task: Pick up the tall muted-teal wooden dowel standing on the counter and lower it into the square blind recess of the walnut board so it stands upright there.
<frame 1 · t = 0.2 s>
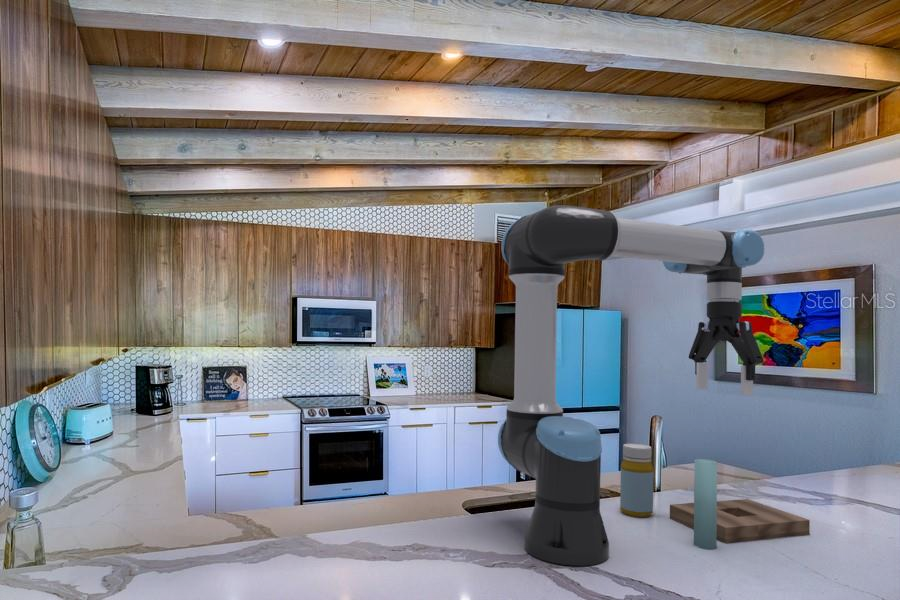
hand: (723, 392, 137), 28 cm above the countertop, fingers open, 13 cm apart
bore block: (737, 526, 126), on the countertop
bottle: (636, 514, 133), on the countertop
pin: (705, 545, 113), on the countertop
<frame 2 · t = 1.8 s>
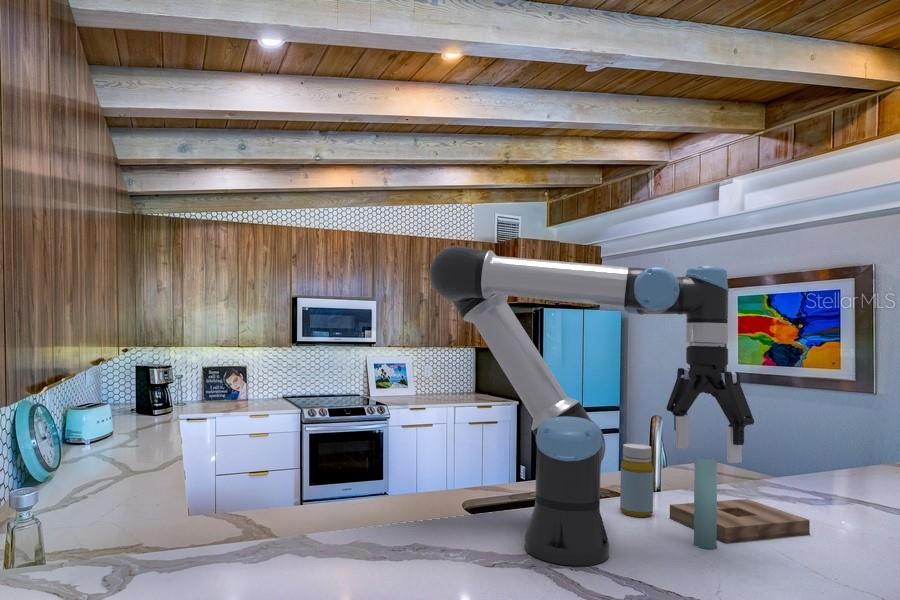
hand: (706, 455, 114), 17 cm above the countertop, fingers open, 13 cm apart
nothing on the countertop moved.
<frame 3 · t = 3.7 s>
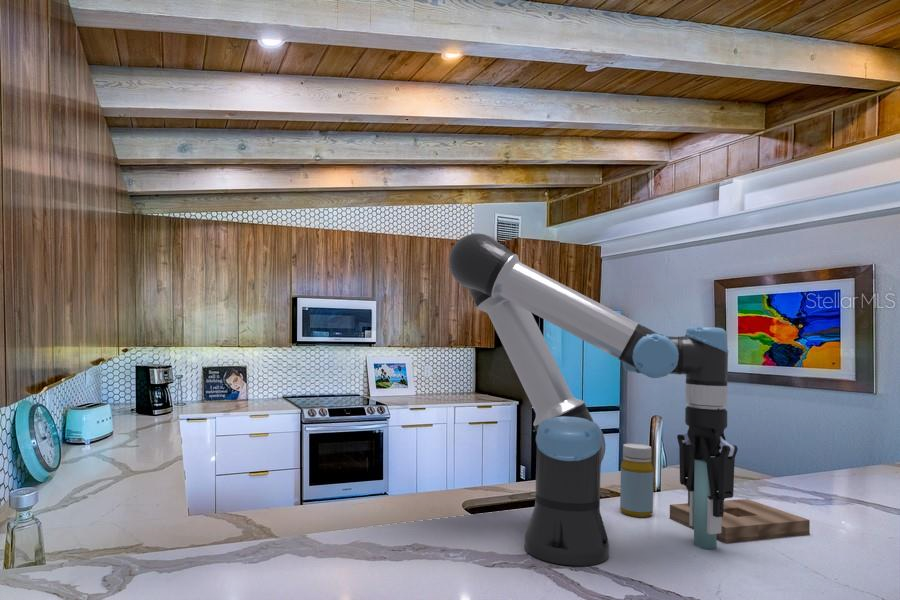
hand: (705, 528, 113), 3 cm above the countertop, fingers closed on pin, 4 cm apart
pin: (704, 545, 113), on the countertop, touching gripper
everything else where it was.
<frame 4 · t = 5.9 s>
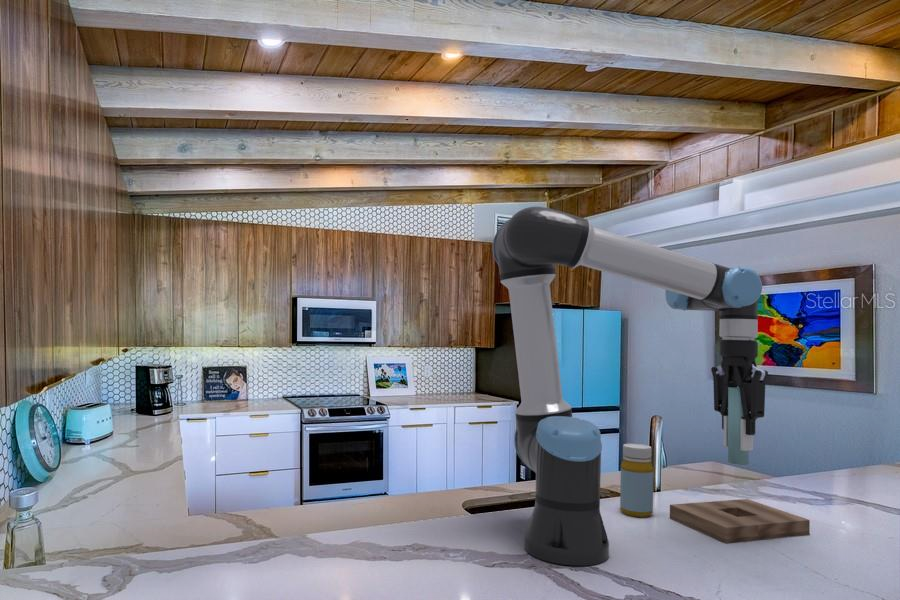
hand: (738, 447, 126), 17 cm above the countertop, fingers closed on pin, 4 cm apart
pin: (738, 462, 126), point 13 cm above the countertop, touching gripper
everything else where it was.
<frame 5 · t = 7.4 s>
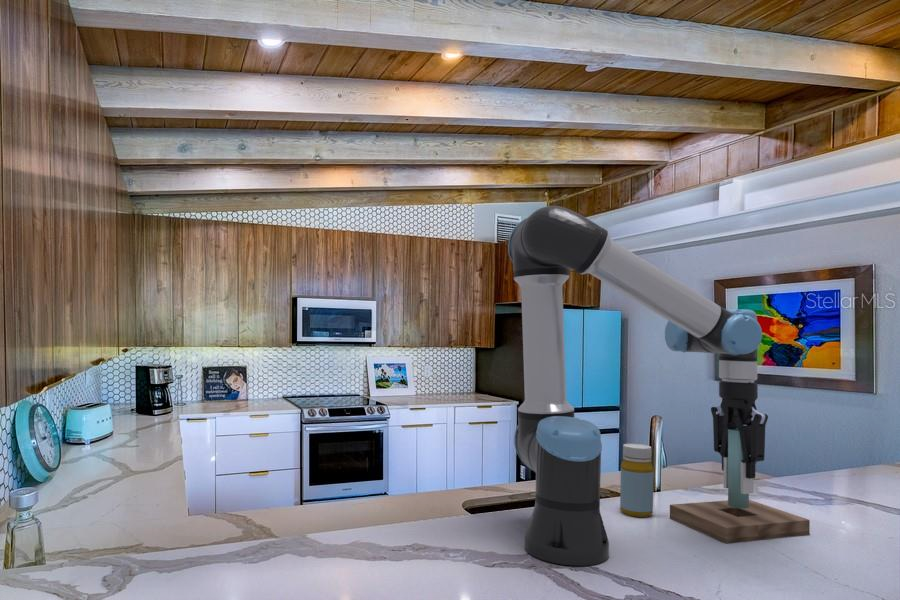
hand: (738, 490, 126), 8 cm above the countertop, fingers closed on pin, 4 cm apart
pin: (738, 505, 126), point 4 cm above the countertop, touching gripper
everything else where it was.
when the fingers open (5 cm above the countertop, at t = 8.2 s): pin stays where it is, resting on bore block.
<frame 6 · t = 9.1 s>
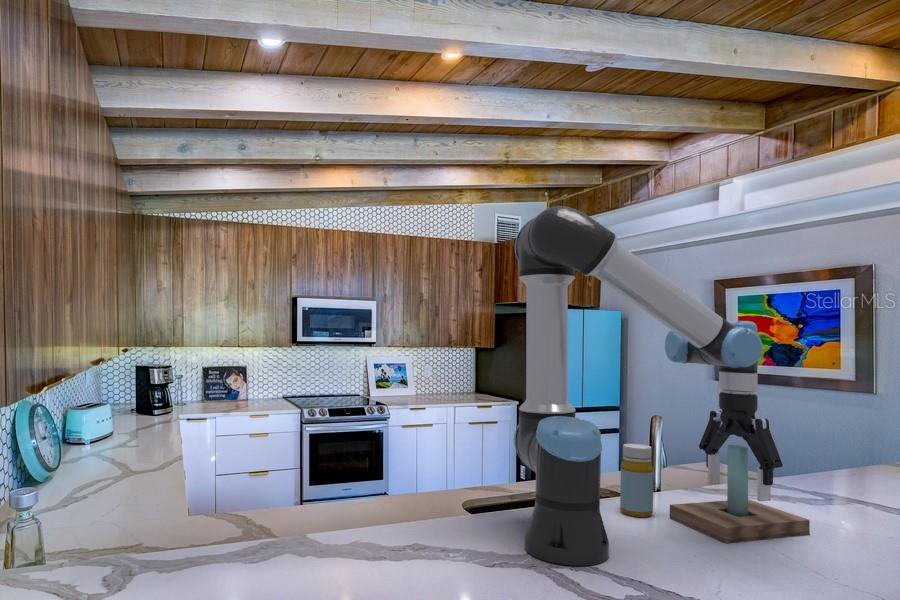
hand: (737, 492, 126), 7 cm above the countertop, fingers open, 13 cm apart
pin: (737, 522, 126), point 1 cm above the countertop, touching bore block
everything else where it was.
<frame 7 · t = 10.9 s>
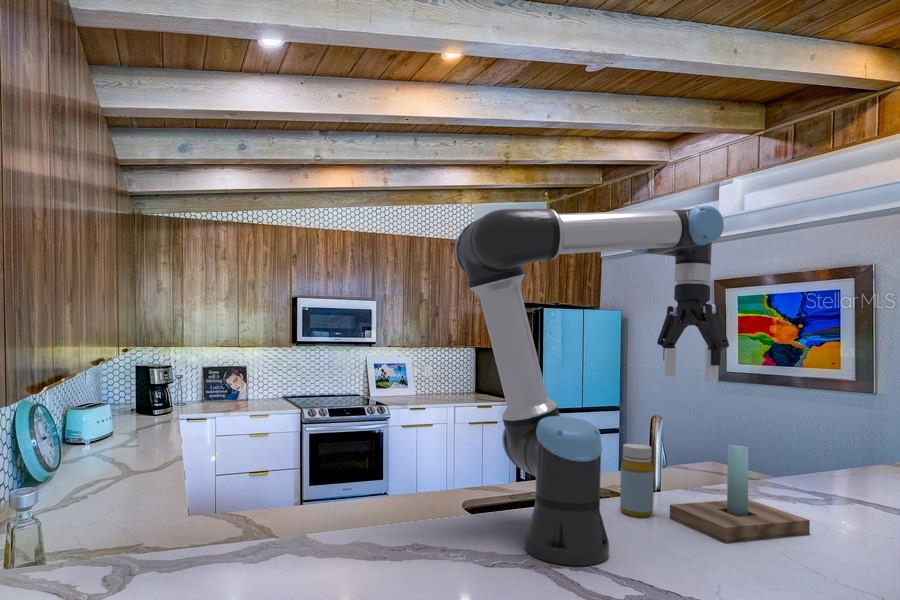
hand: (689, 378, 131), 31 cm above the countertop, fingers open, 13 cm apart
nothing on the countertop moved.
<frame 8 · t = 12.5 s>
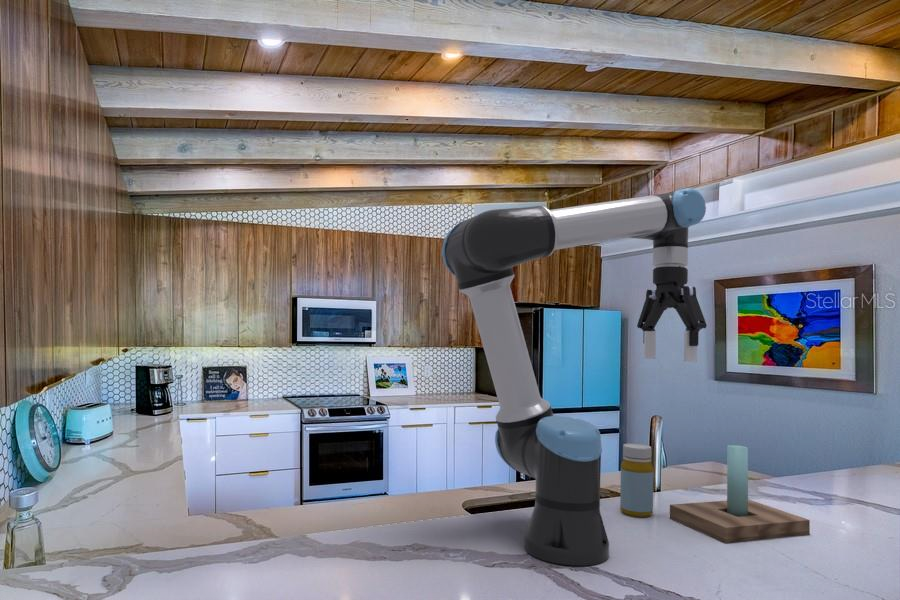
hand: (669, 360, 134), 35 cm above the countertop, fingers open, 13 cm apart
nothing on the countertop moved.
at the end: pin 0.0 cm off-centre on the bore block, point 0.8 cm above the bore block's base; pin tilted 0°; the gripper is holding nothing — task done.
